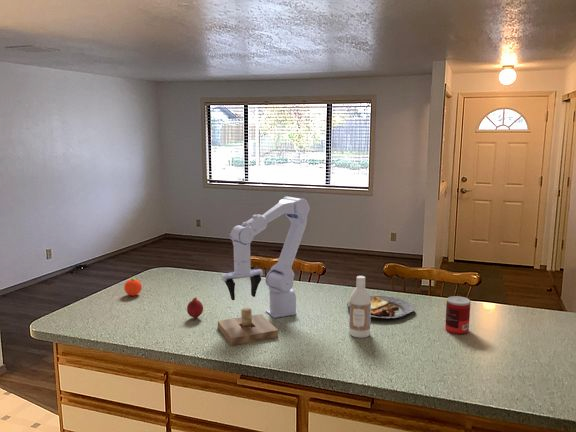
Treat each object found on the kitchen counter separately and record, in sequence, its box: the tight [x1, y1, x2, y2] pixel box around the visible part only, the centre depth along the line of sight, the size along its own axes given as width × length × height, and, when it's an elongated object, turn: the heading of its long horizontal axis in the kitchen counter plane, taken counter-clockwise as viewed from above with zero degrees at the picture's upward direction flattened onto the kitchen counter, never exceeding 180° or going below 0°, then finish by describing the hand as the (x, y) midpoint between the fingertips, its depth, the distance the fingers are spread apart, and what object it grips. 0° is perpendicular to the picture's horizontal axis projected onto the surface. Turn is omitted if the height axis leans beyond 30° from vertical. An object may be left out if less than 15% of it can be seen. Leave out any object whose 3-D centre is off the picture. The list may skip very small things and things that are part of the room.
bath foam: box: [348, 275, 372, 339], centre depth 167 cm, size 7×7×20 cm
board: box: [217, 313, 279, 347], centre depth 171 cm, size 16×16×2 cm
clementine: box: [124, 278, 143, 296], centre depth 210 cm, size 8×7×7 cm
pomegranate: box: [186, 296, 204, 319], centre depth 183 cm, size 6×6×8 cm
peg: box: [240, 307, 252, 329], centre depth 170 cm, size 3×3×8 cm
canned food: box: [444, 295, 471, 336], centre depth 171 cm, size 8×8×11 cm
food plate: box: [346, 294, 415, 320], centre depth 191 cm, size 25×23×4 cm
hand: (243, 297), depth 176 cm, fingers open, 7 cm apart
